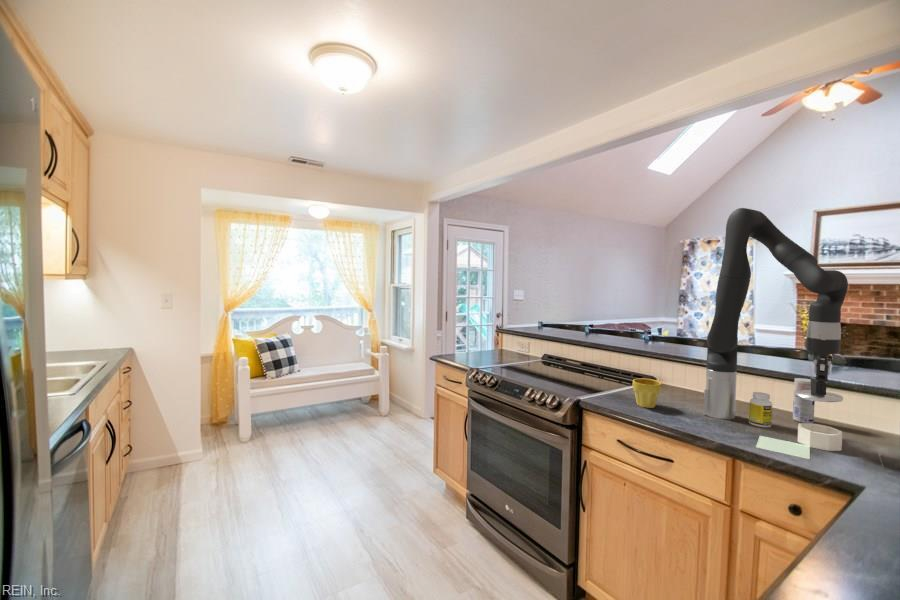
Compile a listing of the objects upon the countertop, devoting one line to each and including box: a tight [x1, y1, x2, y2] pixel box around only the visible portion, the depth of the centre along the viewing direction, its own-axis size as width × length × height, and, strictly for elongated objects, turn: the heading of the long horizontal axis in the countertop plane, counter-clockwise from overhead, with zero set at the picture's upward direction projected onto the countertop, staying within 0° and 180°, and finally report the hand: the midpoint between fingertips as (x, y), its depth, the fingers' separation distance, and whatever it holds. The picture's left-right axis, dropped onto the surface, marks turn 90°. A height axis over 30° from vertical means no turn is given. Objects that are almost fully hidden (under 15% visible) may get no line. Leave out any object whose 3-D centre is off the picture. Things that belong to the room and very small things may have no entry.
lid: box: [793, 376, 844, 403], centre depth 122 cm, size 11×11×6 cm
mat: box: [755, 435, 811, 460], centre depth 121 cm, size 12×12×1 cm
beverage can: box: [792, 377, 816, 423], centre depth 143 cm, size 6×6×15 cm
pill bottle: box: [748, 391, 773, 428], centre depth 139 cm, size 6×6×11 cm
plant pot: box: [632, 377, 662, 409], centre depth 161 cm, size 10×10×10 cm
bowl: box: [796, 422, 843, 452], centre depth 122 cm, size 10×10×5 cm
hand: (820, 393), depth 122 cm, fingers closed on lid, 3 cm apart
